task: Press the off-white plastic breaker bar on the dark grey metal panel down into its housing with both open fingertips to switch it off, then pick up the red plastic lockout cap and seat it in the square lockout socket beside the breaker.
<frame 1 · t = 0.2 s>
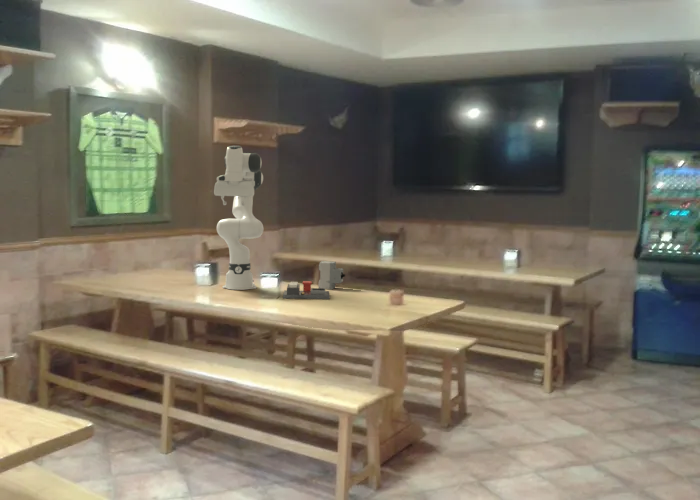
hand: (234, 205, 349), 48 cm above the table, fingers open, 8 cm apart
breaker panel: (306, 296, 362), on the table
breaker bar: (293, 286, 361), point 5 cm above the table, slide at 0.0 cm
lockout cap: (307, 292, 375), on the table
circuit breaker: (332, 288, 392), on the table
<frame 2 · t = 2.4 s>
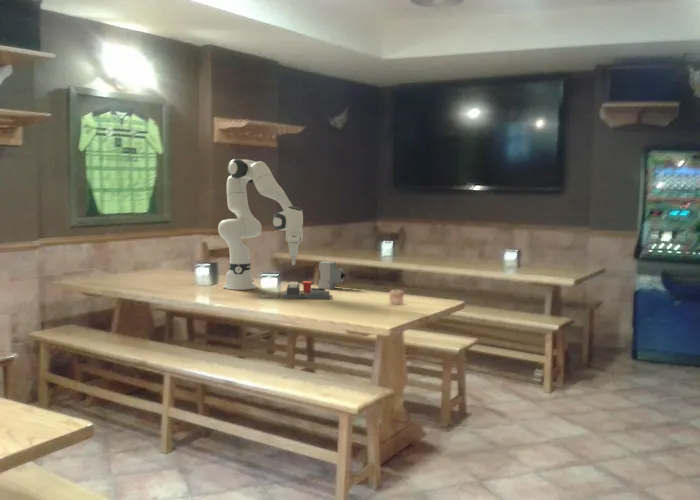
hand: (293, 264, 360), 17 cm above the table, fingers open, 8 cm apart
nothing on the table moved.
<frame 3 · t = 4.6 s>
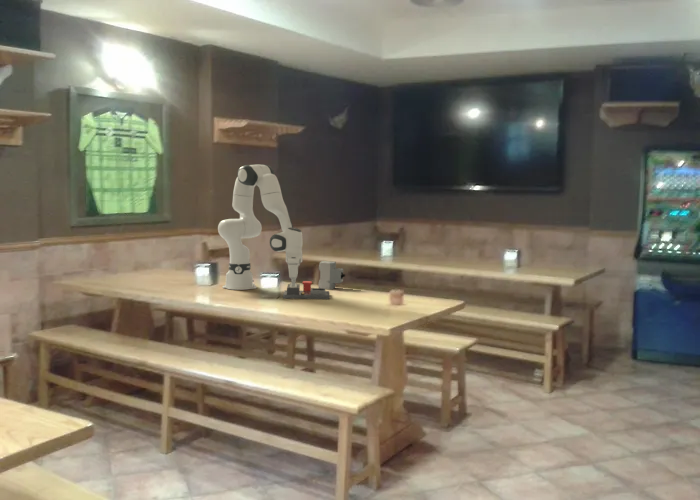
hand: (293, 284, 361), 6 cm above the table
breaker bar: (293, 287, 361), point 5 cm above the table, slide at 0.9 cm, touching gripper
everything else where it was.
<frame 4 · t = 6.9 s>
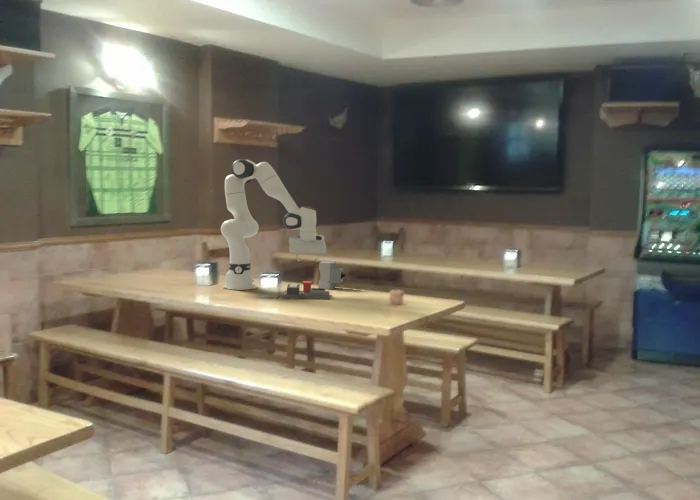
hand: (307, 261, 373), 17 cm above the table, fingers open, 8 cm apart
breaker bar: (293, 288, 361), point 4 cm above the table, slide at 1.1 cm
everything else where it was.
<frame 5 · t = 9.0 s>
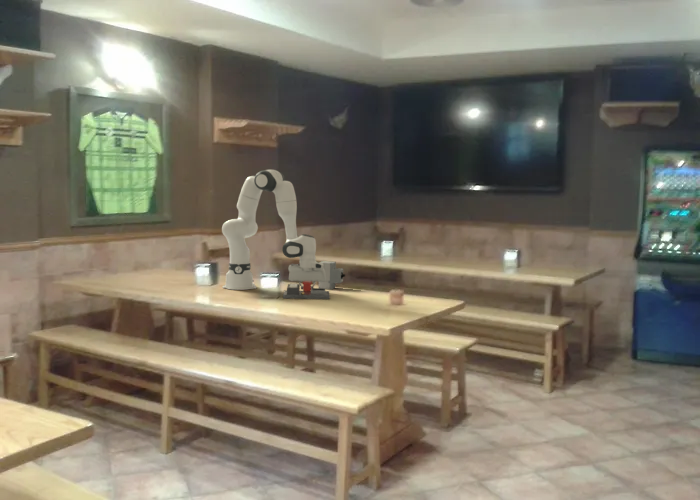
hand: (307, 289, 374), 2 cm above the table, fingers closed on lockout cap, 4 cm apart
lockout cap: (307, 292, 375), on the table, touching gripper
everything else where it was.
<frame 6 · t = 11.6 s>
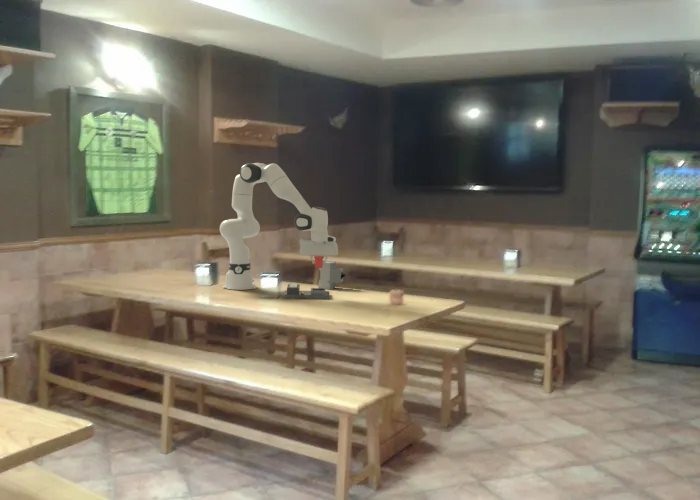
hand: (318, 264, 360), 17 cm above the table, fingers closed on lockout cap, 4 cm apart
lockout cap: (318, 267, 361), point 16 cm above the table, touching gripper
everything else where it was.
when the fingers open (5 cm above the table, at t = 14.2 s): lockout cap drops 2 cm, resting on breaker panel.
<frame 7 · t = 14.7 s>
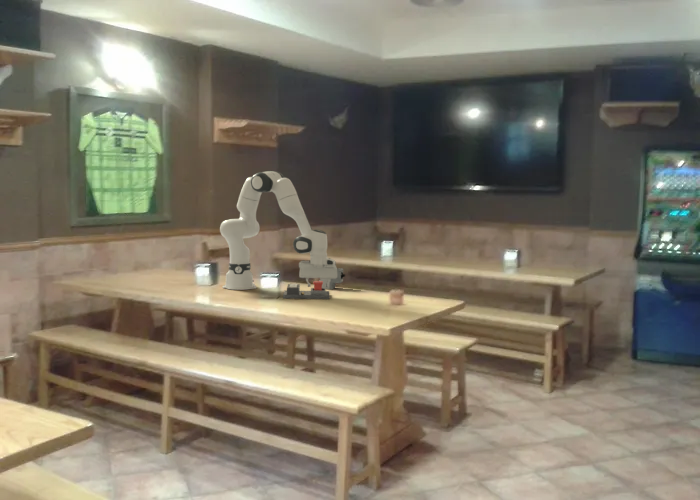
hand: (318, 286, 361), 5 cm above the table, fingers open, 8 cm apart
lockout cap: (317, 293, 362), point 2 cm above the table, touching breaker panel
everything else where it was.
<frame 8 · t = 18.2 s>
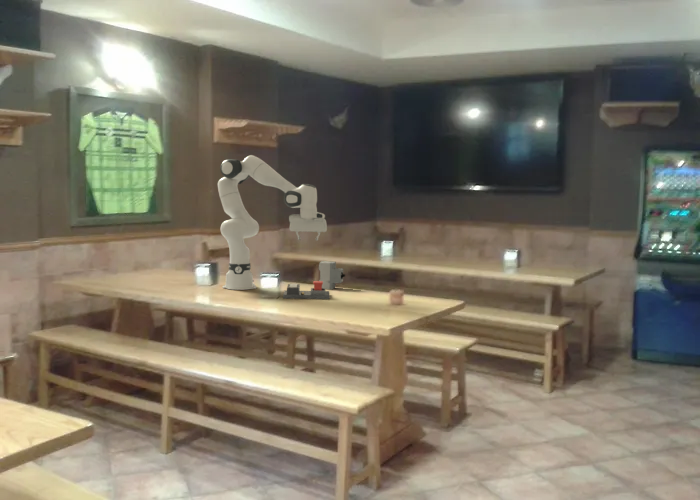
hand: (308, 240, 369), 29 cm above the table, fingers open, 8 cm apart
nothing on the table moved.
at the end: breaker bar slide at 1.1 cm; lockout cap 0.1 cm from the target spot on the breaker panel, point 2.0 cm above the breaker panel's base; lockout cap tilted 0° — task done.
